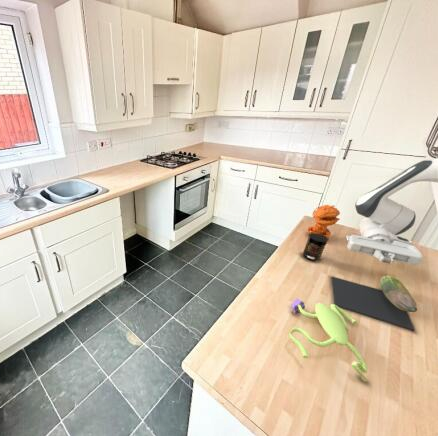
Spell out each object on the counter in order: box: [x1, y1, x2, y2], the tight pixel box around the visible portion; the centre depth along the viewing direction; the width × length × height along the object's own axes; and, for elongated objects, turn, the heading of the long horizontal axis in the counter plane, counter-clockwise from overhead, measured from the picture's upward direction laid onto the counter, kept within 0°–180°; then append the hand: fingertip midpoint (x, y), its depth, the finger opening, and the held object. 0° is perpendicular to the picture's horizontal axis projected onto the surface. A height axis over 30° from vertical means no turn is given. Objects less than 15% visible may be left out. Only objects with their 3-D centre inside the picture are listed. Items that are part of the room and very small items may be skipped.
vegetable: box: [379, 275, 418, 313], centre depth 82 cm, size 6×6×20 cm
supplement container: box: [302, 233, 329, 262], centre depth 104 cm, size 7×7×10 cm
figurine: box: [289, 298, 368, 383], centre depth 72 cm, size 18×27×6 cm
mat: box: [331, 276, 415, 332], centre depth 84 cm, size 20×16×1 cm
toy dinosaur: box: [306, 204, 341, 240], centre depth 116 cm, size 11×11×18 cm
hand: (386, 261), depth 83 cm, fingers closed
